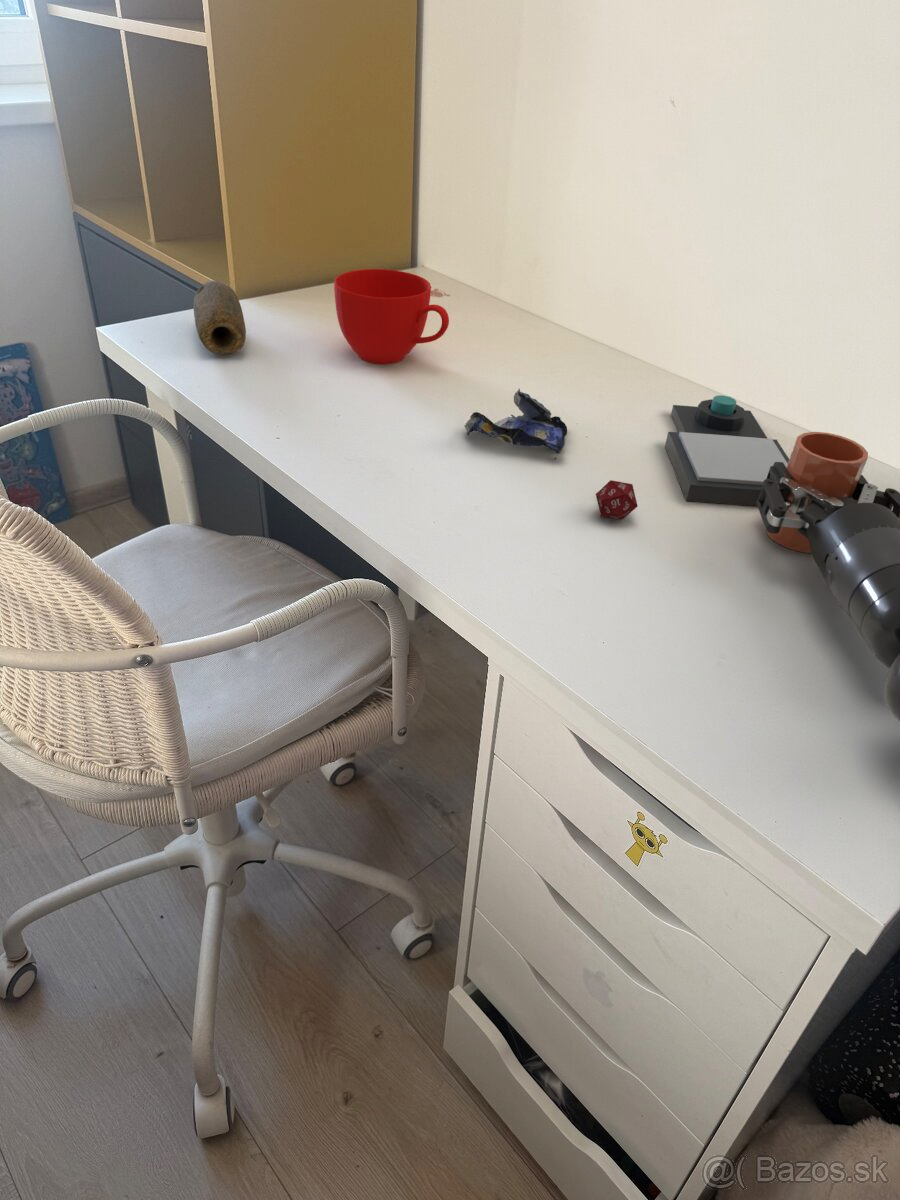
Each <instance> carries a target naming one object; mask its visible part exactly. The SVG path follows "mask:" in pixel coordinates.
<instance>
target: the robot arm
mask: <svg viewBox="0 0 900 1200" xmlns="http://www.w3.org/2000/svg"><path fill="white" fill-rule="evenodd" d="M790 492H792V493H793V494H794V499H793V502H792V501H790V500H789V499H788V497H789V495H790ZM809 498H810V499H811V500H812V501H811V502H810V503H809V505H808V506H807V507H806V505H807V503H808V500H809ZM756 507H757V509H758V511H759V514H760V518H761V519H762V522H763V525H764V528H765V531H766V530H767V531H768V532H770V533H774V534H777V533H779V532H780V529H781V527H790V528H797V530H798V532H799V533H800V534H802V535H803V536H805V537H806V538H807V539H808V540H809V544H810V549H811V553H810V554H811V556H812V559H813V561H814V563H815V565H816V566H817V568H818V570H819V571H820V573H821V575H822V577H823V579H824V581H825V582H826V584H827V585H828V588H829V589H830V590H831V592H832V594H833V596H834V598H835V599H836V602H837V603H838V604H839V606H840V607H841V609H842V610H844V612H845V613H846V614H847V615H848V616H849V618H850V619H851V621H852V623H853V624H854V626H855V628H856V629H857V631H858V633H859V635H860V636H861V637H862V639H863V641H864V643H865V645H866V646H867V648H868V649H869V651H870V652H871V653H872V655H873V656H875V658H876V659H877V660H879V662H880V663H882V664H883V666H885V667H887V668H888V669H889V670H888V672H887V674H886V676H885V680H884V686H883V695H884V700H885V704H886V706H887V709H888V710H889V712H890V713H891V714H892V715H893V716H894V718H896V720H897V721H898V722H900V492H899V491H898V490H897V489H895V488H892V487H891V488H890V487H888V488H886V489H884V491H881V490H878V487H877V485H875V484H874V483H873V484H872V483H869V481H868V480H867V479H866V478H865V476H864V475H863V474H861V476H860V478H859V481H858V483H857V485H856V488H855V490H854V493H853V495H852V498H848V497H841V498H835V497H830V496H827V495H826V494H824V493H822V492H821V491H819V490H817V489H816V488H814V487H813V486H811V485H807V486H802V485H800V484H798V483H797V482H795V481H793V477H792V476H791V474H790V473H789V471H788V470H787V468H786V466H785V465H784V463H783V462H774V465H773V466H770V469H769V472H768V475H767V478H766V479H765V480H764V482H763V485H762V489H761V492H760V495H759V498H758V500H757V506H756ZM767 531H766V532H767Z"/></svg>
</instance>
